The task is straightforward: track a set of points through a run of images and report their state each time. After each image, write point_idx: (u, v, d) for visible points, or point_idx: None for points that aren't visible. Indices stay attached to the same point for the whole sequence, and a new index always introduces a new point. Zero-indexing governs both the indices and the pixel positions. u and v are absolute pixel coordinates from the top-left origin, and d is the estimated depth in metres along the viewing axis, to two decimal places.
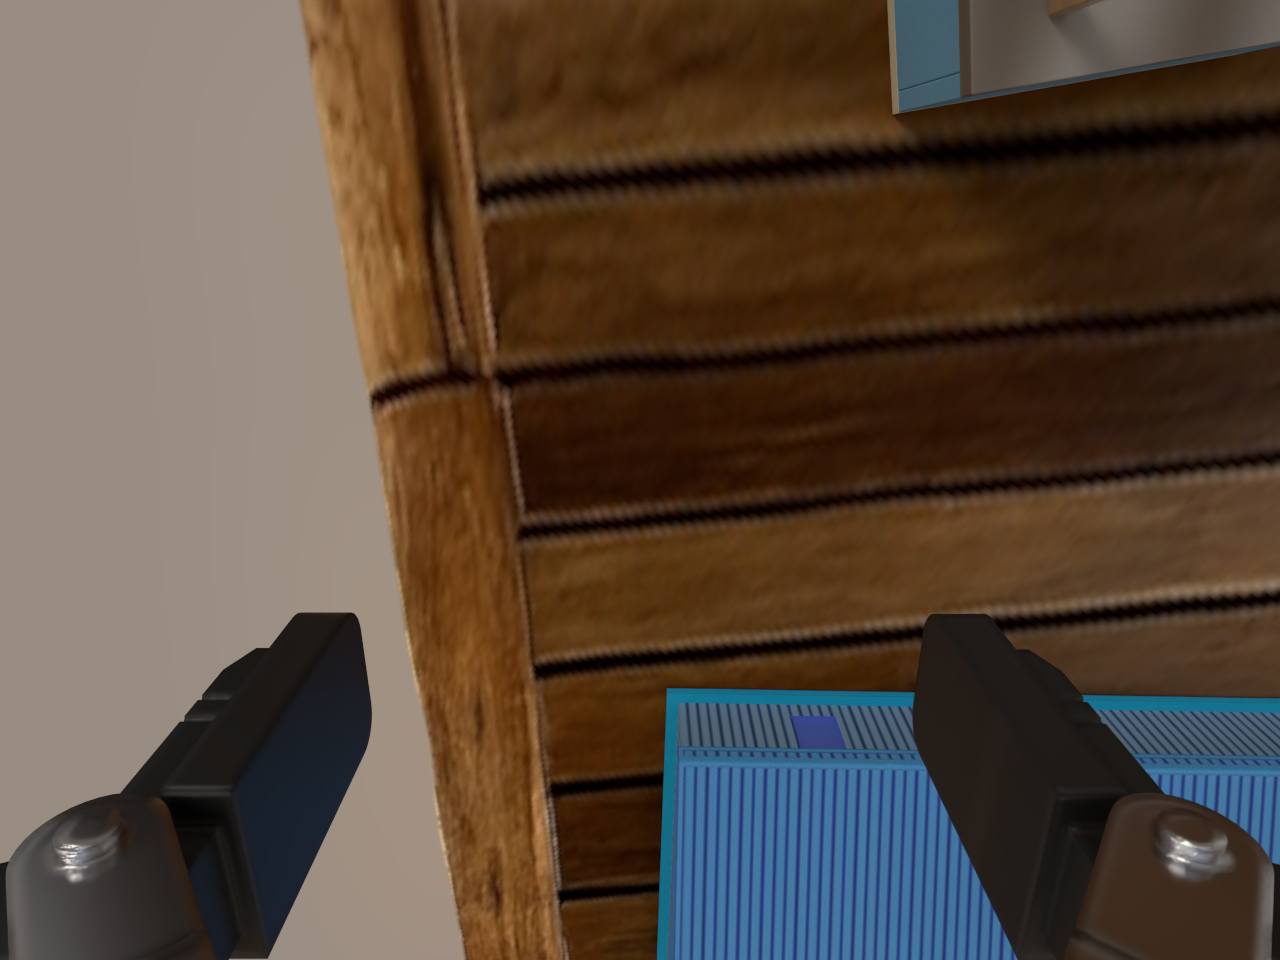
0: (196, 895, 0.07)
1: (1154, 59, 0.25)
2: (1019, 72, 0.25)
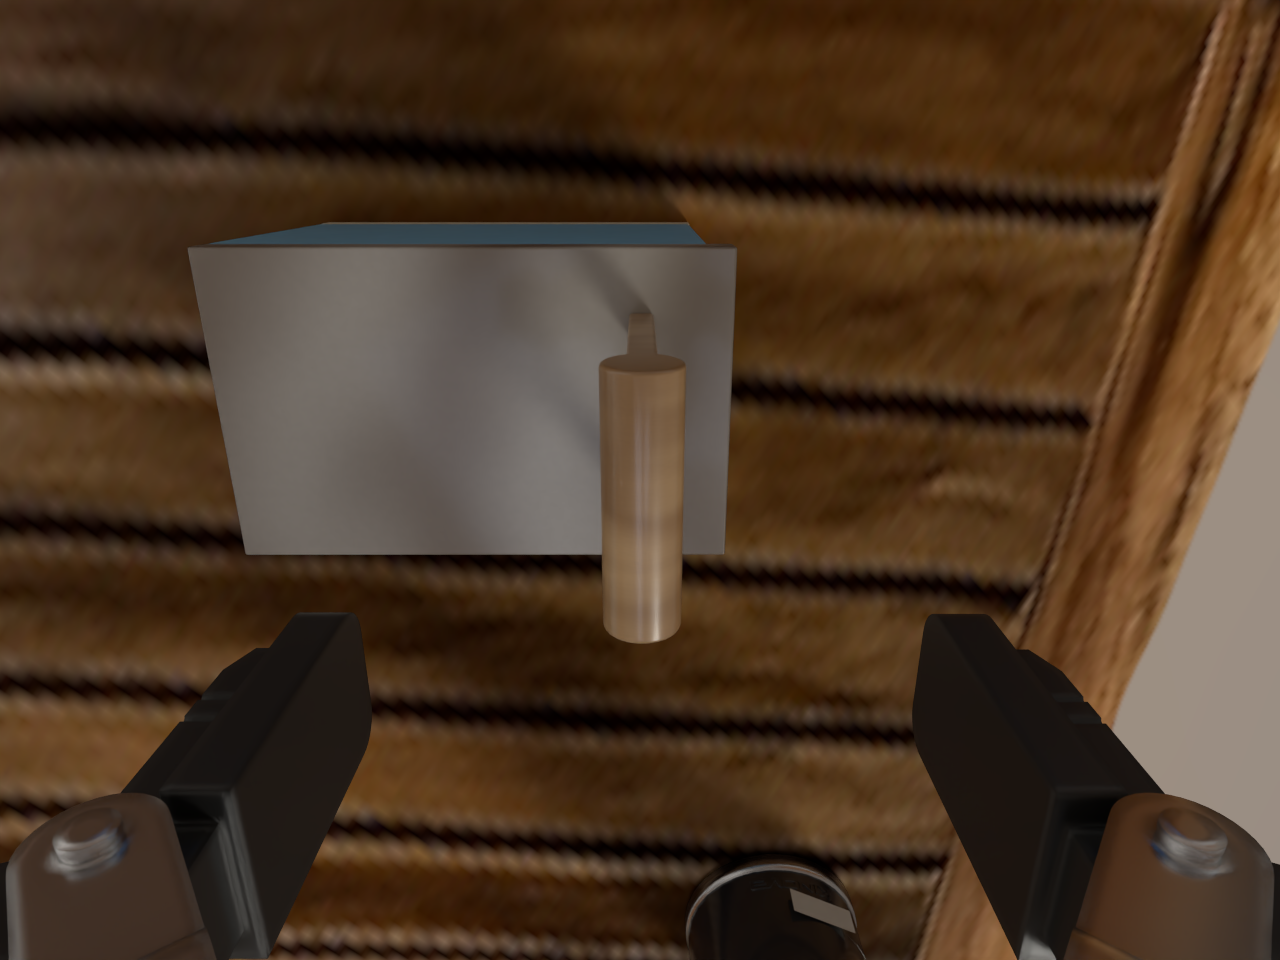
0: (196, 895, 0.07)
1: (534, 251, 0.22)
2: (683, 263, 0.23)
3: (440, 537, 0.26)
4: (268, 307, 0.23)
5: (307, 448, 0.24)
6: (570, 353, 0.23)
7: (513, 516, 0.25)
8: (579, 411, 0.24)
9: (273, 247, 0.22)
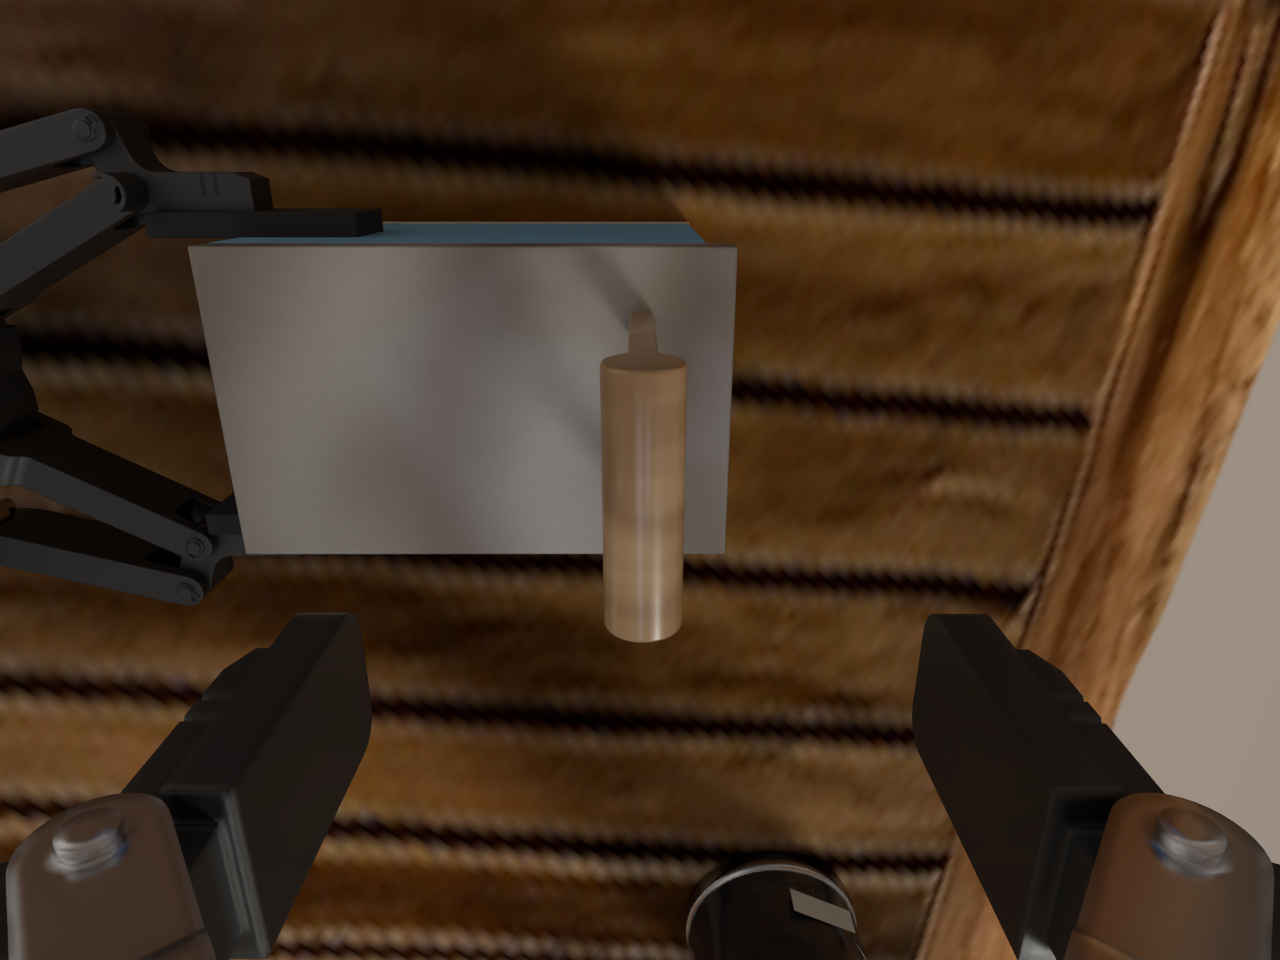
0: (196, 895, 0.07)
1: (534, 250, 0.22)
2: (684, 262, 0.23)
3: (440, 536, 0.25)
4: (268, 307, 0.23)
5: (307, 448, 0.24)
6: (570, 352, 0.23)
7: (513, 515, 0.25)
8: (580, 411, 0.24)
9: (273, 246, 0.22)
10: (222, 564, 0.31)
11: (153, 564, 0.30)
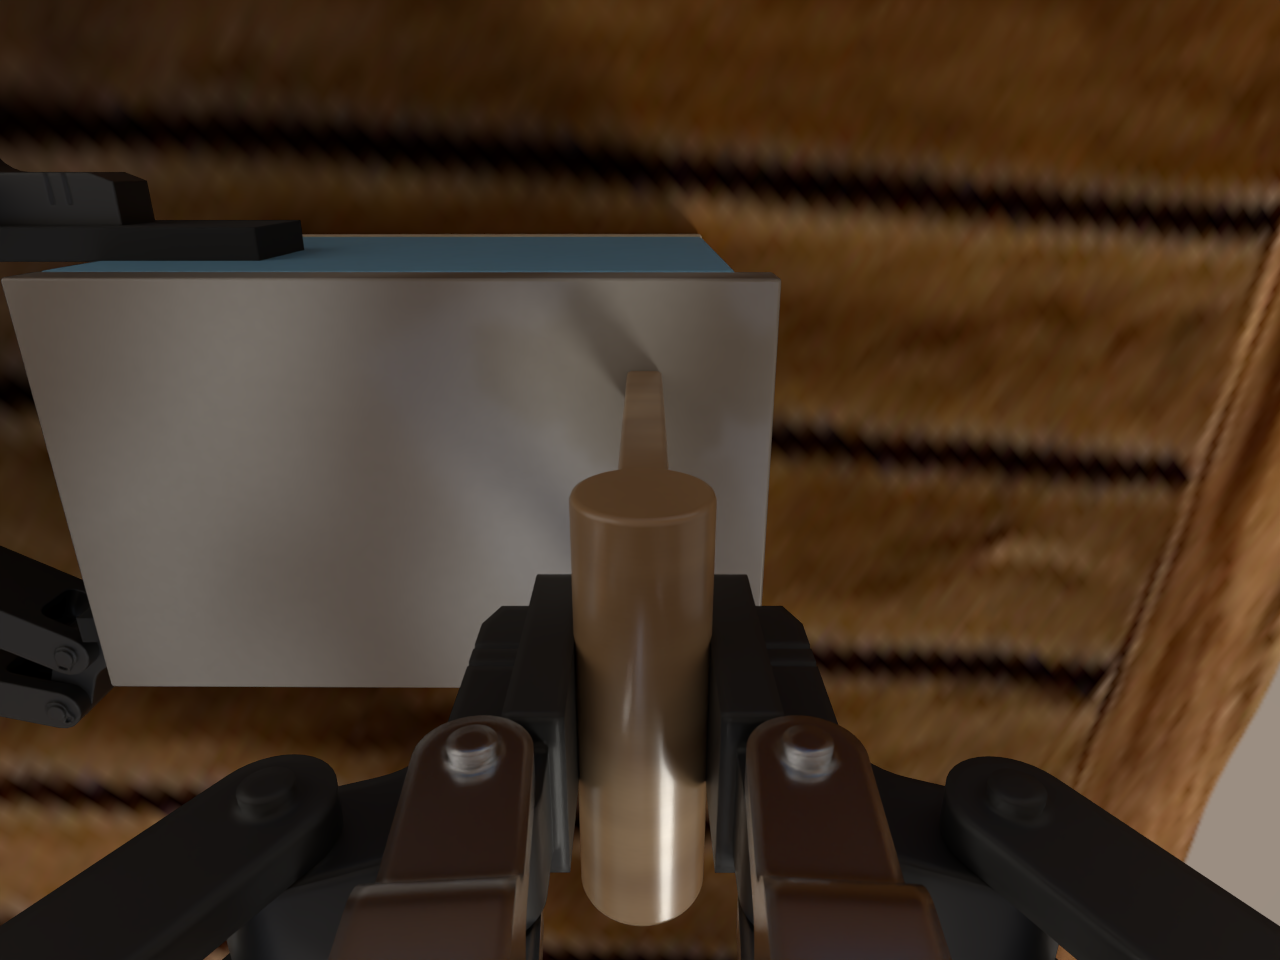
0: (544, 806, 0.09)
1: (492, 284, 0.16)
2: (705, 301, 0.16)
3: (372, 665, 0.19)
4: (120, 362, 0.16)
5: (186, 550, 0.18)
6: (545, 425, 0.17)
7: (470, 639, 0.19)
8: (558, 503, 0.17)
9: (122, 278, 0.16)
10: None
11: (17, 676, 0.23)
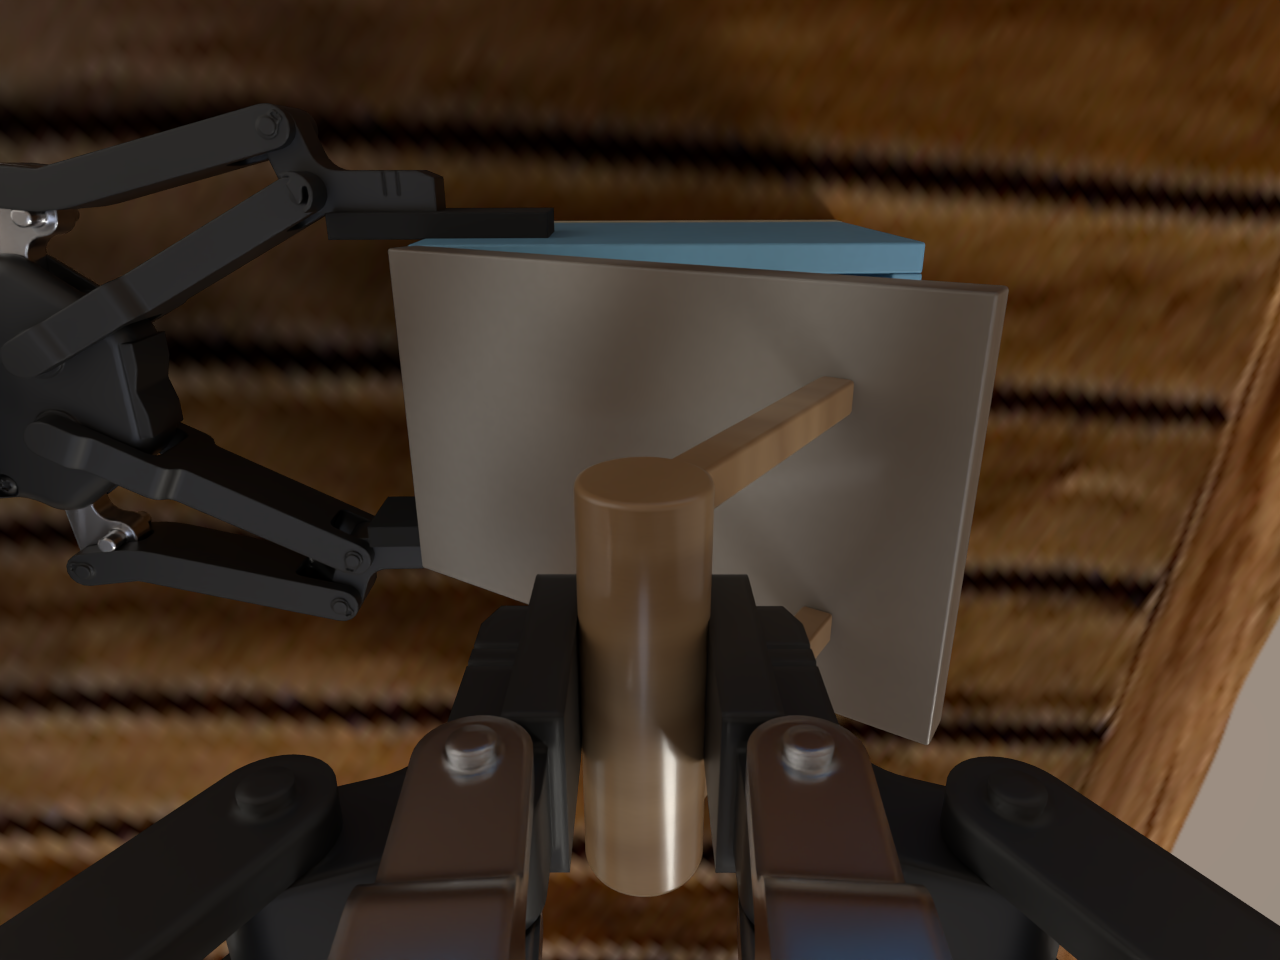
0: (543, 806, 0.09)
1: (706, 277, 0.17)
2: (907, 311, 0.15)
3: None
4: (446, 318, 0.21)
5: (472, 474, 0.22)
6: (740, 418, 0.17)
7: None
8: (745, 496, 0.18)
9: (453, 253, 0.20)
10: (372, 577, 0.30)
11: (305, 578, 0.29)
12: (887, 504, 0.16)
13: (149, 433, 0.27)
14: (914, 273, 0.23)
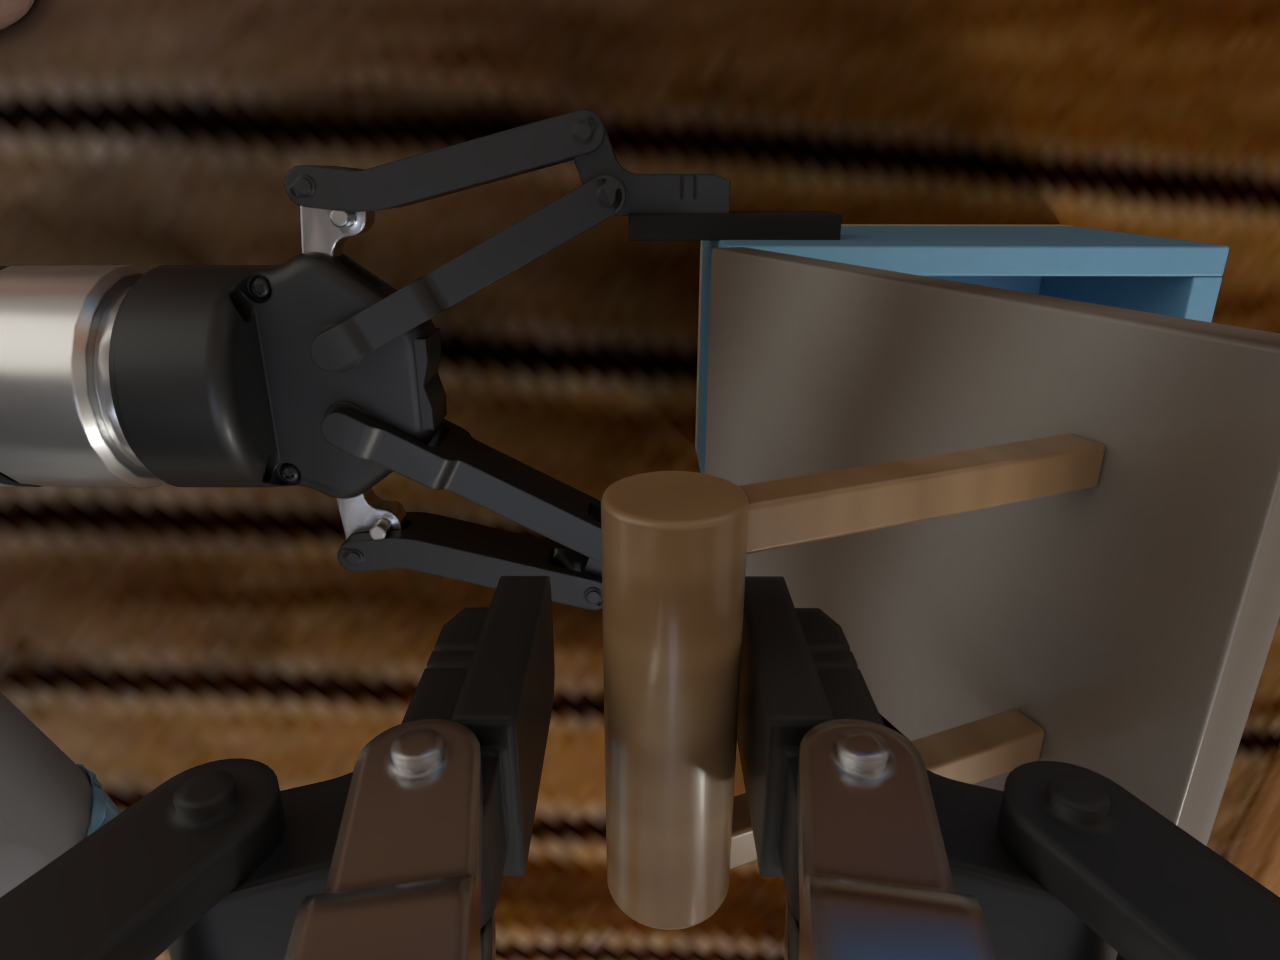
0: (493, 810, 0.09)
1: (963, 298, 0.14)
2: (1184, 365, 0.11)
3: None
4: (744, 319, 0.21)
5: (745, 474, 0.22)
6: None
7: (877, 657, 0.18)
8: (972, 560, 0.15)
9: (756, 256, 0.20)
10: None
11: (558, 569, 0.30)
12: (1127, 614, 0.12)
13: (430, 425, 0.28)
14: (1213, 276, 0.24)
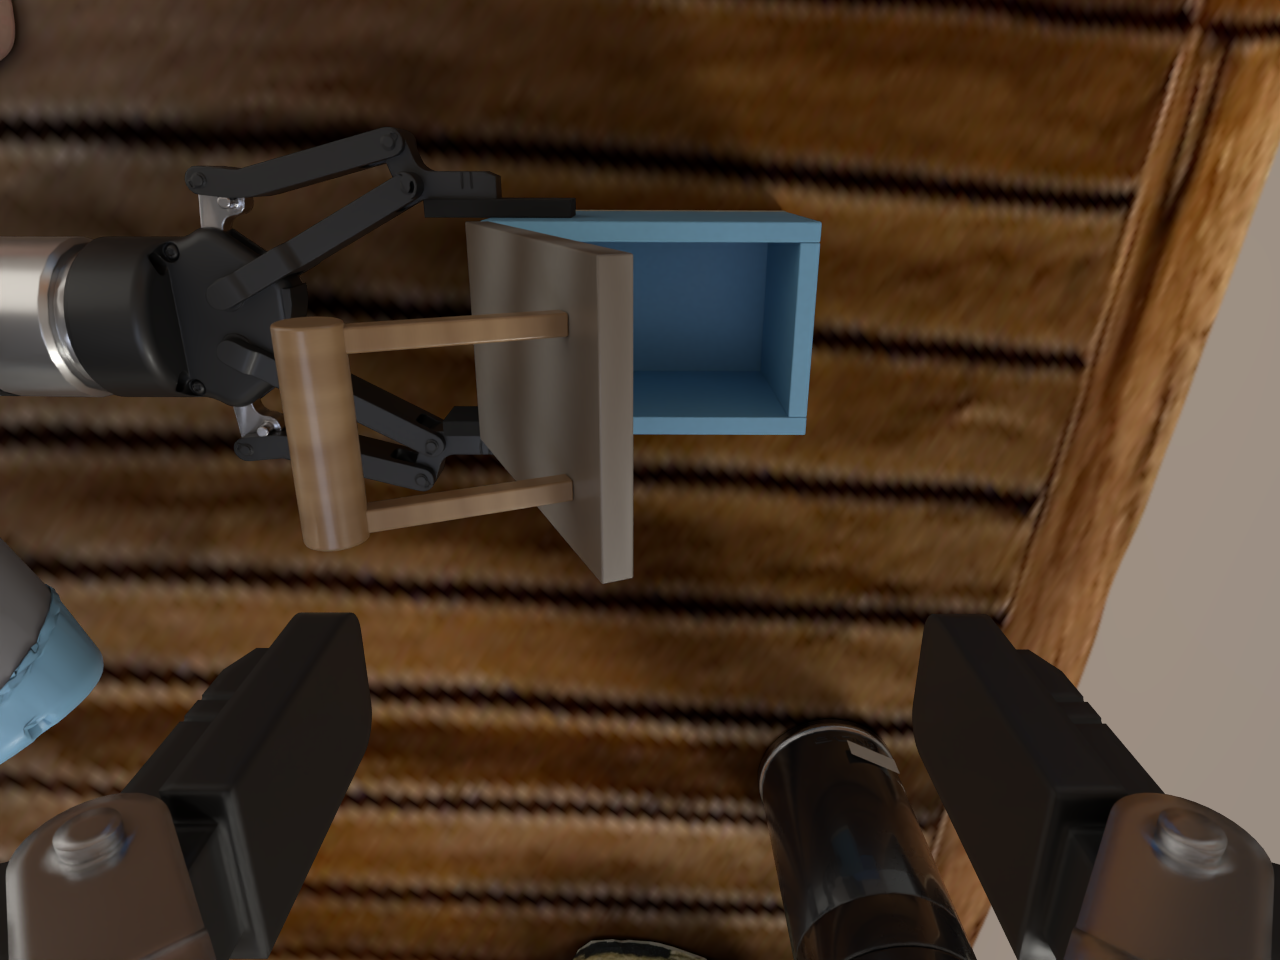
0: (196, 895, 0.07)
1: (533, 242, 0.25)
2: (577, 266, 0.22)
3: (517, 469, 0.31)
4: (478, 267, 0.32)
5: (488, 373, 0.33)
6: (545, 338, 0.26)
7: (533, 471, 0.29)
8: (549, 393, 0.26)
9: (479, 225, 0.32)
10: (442, 462, 0.42)
11: (396, 460, 0.41)
12: (581, 401, 0.23)
13: None
14: (815, 242, 0.35)
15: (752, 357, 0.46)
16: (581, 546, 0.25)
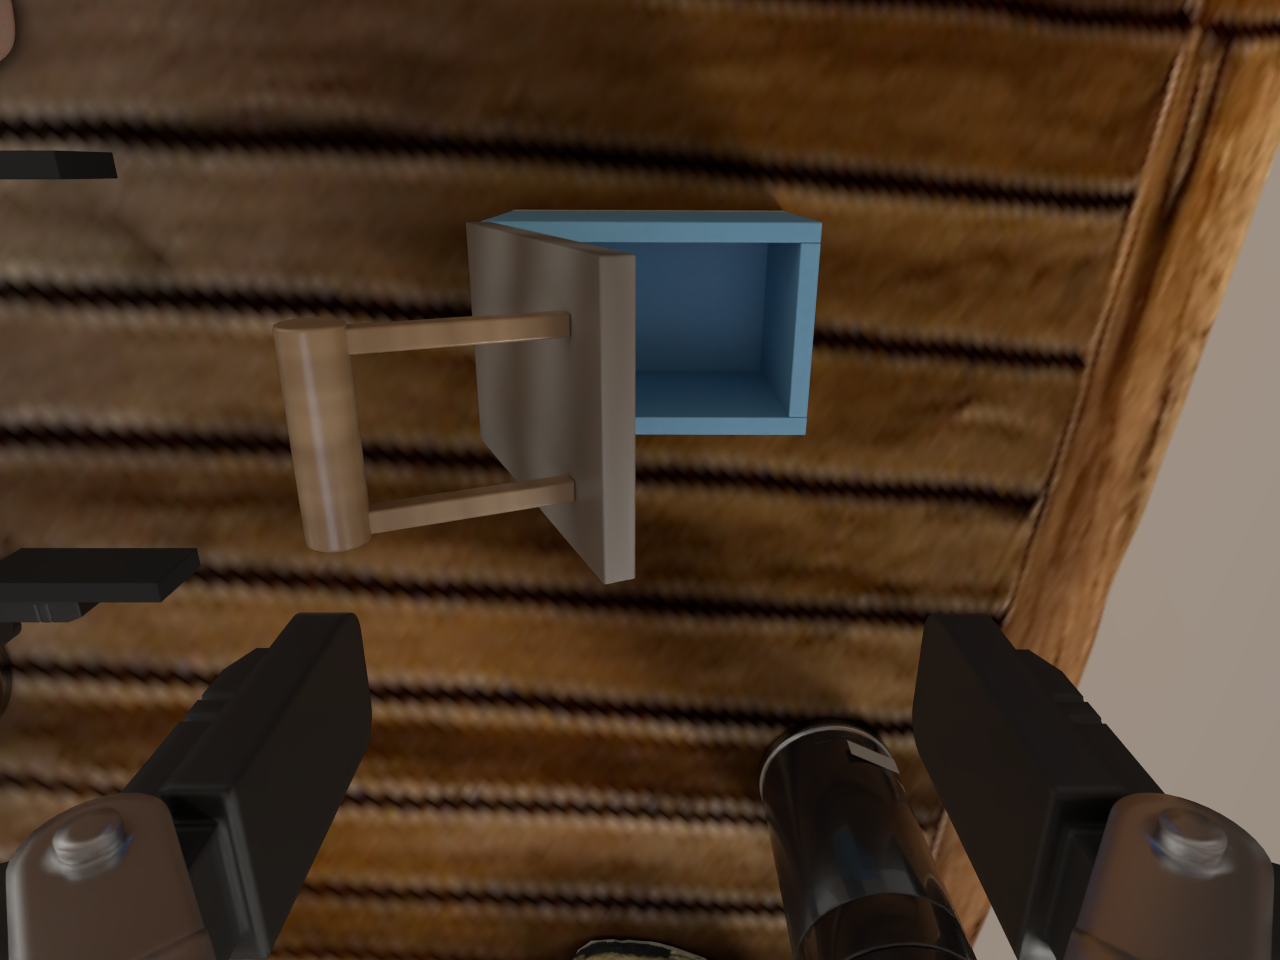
0: (196, 895, 0.07)
1: (535, 243, 0.25)
2: (579, 267, 0.22)
3: (518, 469, 0.31)
4: (479, 268, 0.32)
5: (489, 374, 0.33)
6: (546, 339, 0.26)
7: (535, 471, 0.29)
8: (550, 394, 0.26)
9: (480, 225, 0.32)
10: (0, 628, 0.30)
11: None
12: (583, 402, 0.23)
13: None
14: (815, 242, 0.35)
15: (752, 357, 0.46)
16: (583, 547, 0.25)
